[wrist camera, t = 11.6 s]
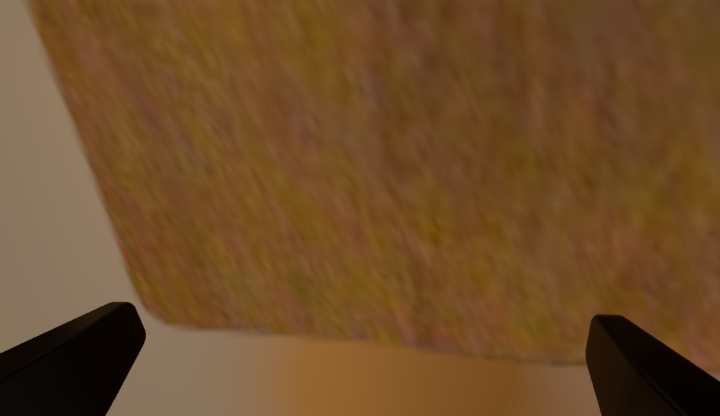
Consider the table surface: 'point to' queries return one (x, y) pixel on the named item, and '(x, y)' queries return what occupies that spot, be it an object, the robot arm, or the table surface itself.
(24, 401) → the robot arm
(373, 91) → the table surface
